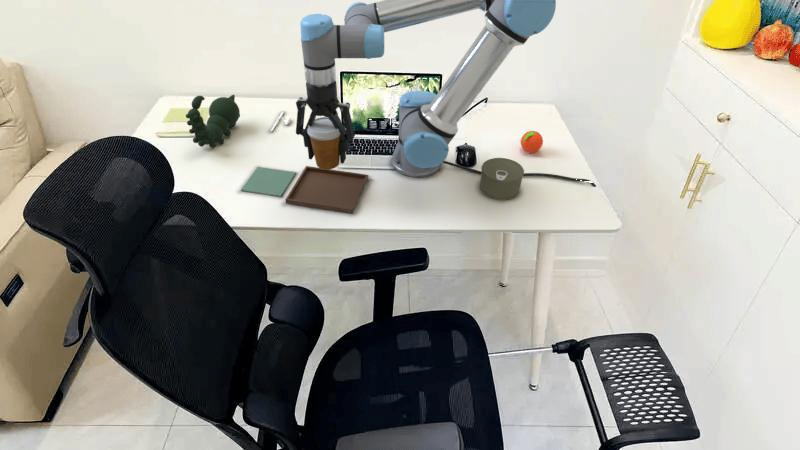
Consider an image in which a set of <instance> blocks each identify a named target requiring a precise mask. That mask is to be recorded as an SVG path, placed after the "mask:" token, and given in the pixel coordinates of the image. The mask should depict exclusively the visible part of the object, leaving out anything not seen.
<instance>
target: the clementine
mask: <svg viewBox="0 0 800 450" xmlns="http://www.w3.org/2000/svg"><path fill="white" fill-rule="evenodd" d="M520 145H521V148H522V150H524V151H525V152H526V153H529V154H534V153H536V152H538V151H539V150H541V148H542V147H543V145H544V139H543V136H542V134H541V133H540V132H538V131H535V130H529V131H527V132H525V133H524V134H523V135H522V136H521V138H520Z"/></svg>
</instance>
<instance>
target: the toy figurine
mask: <svg viewBox="0 0 800 450" xmlns="http://www.w3.org/2000/svg"><path fill="white" fill-rule="evenodd" d="M235 95H236V94H232V95H230V96H228V97H226V96H220V97H217V98H216V99H214V100H213V101H212V102H211V103H210V105H209V108H208V115H209V117H208V118H207V121H206V123H205V122H204V118H203V116H201V112H200V111H199V109H200V108H201V105H202V102H203V101H205V99H206V97H204V96H203V95H196V96H195V97H194V98H193V99H192V101H191V109H189V110H188V112H187V113H186V114H185V118H186V119H189V120H187V121H186V124H187V126H191V128H190V129H189V130H188V133H189V134H193V135H194V137H193V138H192V142H193V143H194V144H197V145H198V146H199V147H204V146H206V145H208V146H209V148H210V149H215V148H216V147H217V144H219V145H223V144H225V139H224V137H228V138H229V137H230V136H232V130H231V129H233V128H234V127H236V125H237V122H238V120H239V118H240V116H241V113H240V107H239V106H238V104H237V103H236V101H235V100H236V96H235ZM216 143H217V144H216Z"/></svg>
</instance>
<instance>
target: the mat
mask: <svg viewBox="0 0 800 450" xmlns="http://www.w3.org/2000/svg"><path fill="white" fill-rule="evenodd" d="M296 174H297V172H296V171H291V170H290V171H289V170H282V169H275V168H270V167H263V166H262V167H261V166H257V167H256V169H255V170H254V172H253V173H252V174H251V176H250V177H249V178H248V180H247V181H246V182H245V183H244V185H243V186H242V187H241V188H240V191H241V192H246V193H252V194H259V195H266V196H271V197H277V198H282V196H283V195H284V193H285V192H286V190H287V188H289V186H290V184H291V182H292V181H293V179H294V178H295V176H296Z"/></svg>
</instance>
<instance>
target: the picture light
mask: <svg viewBox="0 0 800 450" xmlns="http://www.w3.org/2000/svg"><path fill="white" fill-rule="evenodd" d="M284 113H285V111H282V112H281V113H280V115H279V116H278V117H277V118H276V120H275V123H274V124H273V126H272V127H271V128H270V132H273V131H274V129H275V128H276V126H277V125H278V124H279V121H280V120H281V119H282V120H283V122H284V125H285V126H287V125H289V123H290V122H291V117H287V118H285V117H284V116H283V115H284Z"/></svg>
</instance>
